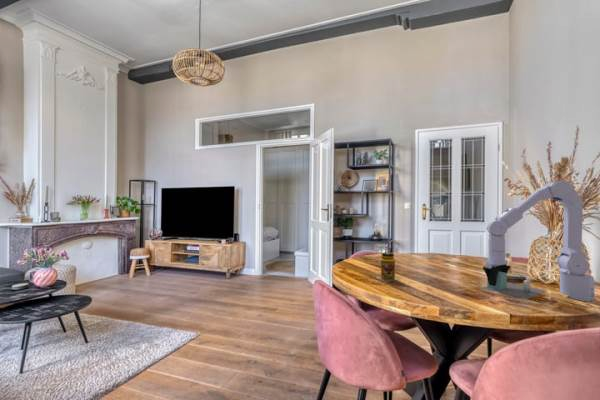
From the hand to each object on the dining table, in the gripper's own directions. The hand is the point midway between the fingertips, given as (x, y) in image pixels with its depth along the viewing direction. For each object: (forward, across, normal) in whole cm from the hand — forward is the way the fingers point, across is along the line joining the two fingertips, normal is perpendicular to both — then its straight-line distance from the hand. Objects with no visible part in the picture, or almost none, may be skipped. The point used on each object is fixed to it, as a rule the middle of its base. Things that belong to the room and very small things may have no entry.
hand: (496, 283), depth 124 cm
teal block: (+1, 0, 0) cm, 1 cm away
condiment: (+3, +23, -37) cm, 44 cm away
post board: (+2, -2, +5) cm, 6 cm away
